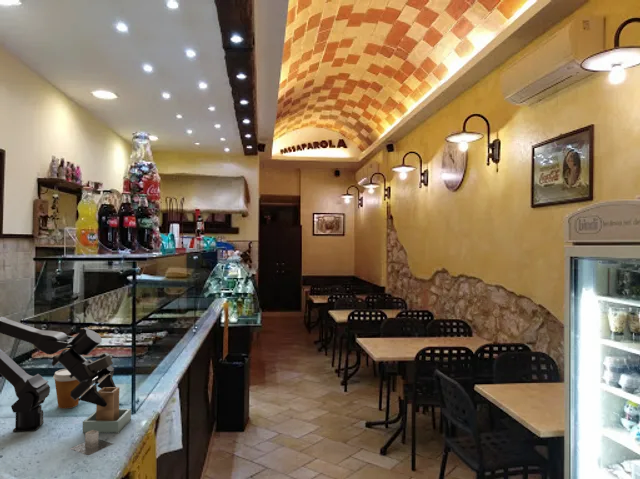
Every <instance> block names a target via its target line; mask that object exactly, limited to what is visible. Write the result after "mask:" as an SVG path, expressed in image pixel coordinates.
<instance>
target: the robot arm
mask: <svg viewBox="0 0 640 479" xmlns="http://www.w3.org/2000/svg"><path fill="white" fill-rule="evenodd" d="M0 334H3V335H4V336H8V337H11V338H14V339H17V340H21V341H23V342H26V343H29V344H31V345H33V346H34V347H35V348H36V350H39V351H41V352H42V353H45V354H47V355H54V354H56V353H58V352H60V351H61V352H60V353H59V354H56V355H54V356H52V357H51V358H52V361H51V366H52V367H53V366H57V365H58V364H60V365H61V366H63V367H64V369H67V370H68V371H69V372H70V373H71V375H69V377H70V378H73V377H75V378H76V379H77V380H78V381H79V382H80V383H79V384H78V385H77V386H76V387H75V388H74V389H73V390H72V391H71V395H70V396H71V397H72V398H73V399H74V400H76V399H78V398H79V399H78V400H79V402H80V401H83V402H86V403H90V404H93V405H99V406H102V407H105V406H106V405H107V403H106V401H105V400H104V399H103V398H102V396H101V395H100V394H99V393H98V391H99V390H98V388H100V390H101V389H102V388H103V387H116V384H115V383H114V379H113V377H114V376H113V375H114V373H115V372H114V371H115V370H114V369H115V368H114V366H112V365H114V362H113V358H114V357H113V356H112V355H111V353H110V354H109V353H108V352H104V353H102V354H100V356H99V358H97V360H94V361H93V360H92V359H86V358H85V356H88V355H89V354H90V353H92V352H93V350H95V349H96V348H97V347H98V346H99V345H100V344H101V343H102V341H103V339H102V336H101V335H100V334H99V333H98V332H95V331H94V330H92V329H89V328H88V327H83V329H81V330H80V331H79V333H78V334H77V335H76V336H73V335H72V336H71V335H67V333H65V332H63V331H57V330H43V329H39V328H37V327H36V328H35V327H32V326H29V325H27V324H24V323H21V322H18V321H15V320H12V319H9V318H7V317H5V316H2V315H1V316H0ZM68 347H69V348H68ZM67 348H68V349H67ZM0 375H1V376H2V377H3V378H4V379H5V380H6V381H7V382H8V383H10V384H11V385H12V387H13V388H14V393H15V396H16V397H17V400H16V401H15V402H14V403H13V404H12V405H11V406H10V407H11V411H12V412H13V413H15V422H14V423H15V425H14V426H15V427H14V428H13V429H12V432H13V433H14V432H29V431H32V432H33V431H37V430H38V429H39V428H40V427H41V426H42V424H43V423H44V410H43V409H42V406H43V405H42V404H44V402H45V400H46V399H47V398H48V397H49V396H50V393H51V386H50V385H49V381H48V380H46V379H45V378H44V377H43V376H42V375H41V374H39V373H37V374H35V375H30V374H29V373H27V372H26V371H25V370H24V368H22V367H21V366H19V365H18V364H17V363H16V362H15V361H14V360H13V359H12V357H10V356H9V355H8V354H7V353H6V352H4V351H3V350H2V349H1V348H0Z"/></svg>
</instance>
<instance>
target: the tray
mask: <svg viewBox="0 0 640 479" xmlns="http://www.w3.org/2000/svg"><path fill="white" fill-rule="evenodd" d="M131 420H132V408H119V419H118V420H117V421H96V410H95V411H94V412H93V413H91V414H90V415H89V416H87V418H85V419H84V420H83V421H82V434H85V433H86V432H89V431H91V430H95V431H99V434H119V433H120V432H121V431H122V430H123V429H124V427H126V425H127V424H128V423H129V422H130V421H131Z"/></svg>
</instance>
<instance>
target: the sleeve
mask: <svg viewBox="0 0 640 479" xmlns="http://www.w3.org/2000/svg"><path fill="white" fill-rule="evenodd" d="M97 391H98V393H99V394H100V395H101V396H102V398H103V399H104V400H105V401H106V403H107V405H106V406H105V407H102V406H99V405H96V404H95V405H96V406H95V407H96V408H95V409H96V410H95V411H96V421H117V420H118V419H119V409H120V387H119V386H117V387H103V388H102V389H101V388H100V389H99V390H97Z"/></svg>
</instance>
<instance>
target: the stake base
mask: <svg viewBox="0 0 640 479" xmlns="http://www.w3.org/2000/svg"><path fill="white" fill-rule="evenodd" d="M99 434H100V433H99V431H95V430H91V431H89V432H86V433H84V435H85V436H84V437H85V439H84V442H81V443H79V444H77V445H74V446H72V447H71V448H70V447H69V450H72V451H75V452H78V453H80V454H83V455H87V456H91V455H93V454H94V453H97V452H100V451H101V450H104V449H106V448H107V447H110V446H112V445H114V443H113V442H109V441H106V440H103V439H100V438H99Z"/></svg>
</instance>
